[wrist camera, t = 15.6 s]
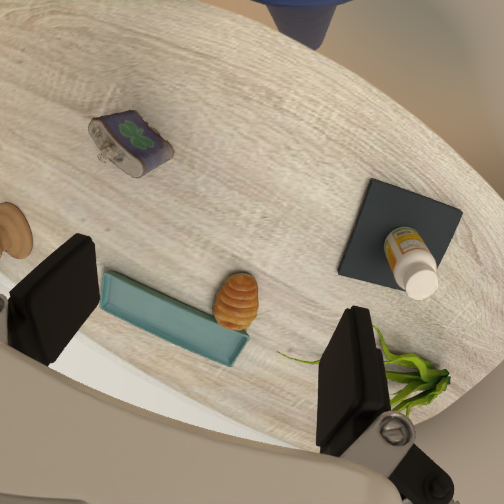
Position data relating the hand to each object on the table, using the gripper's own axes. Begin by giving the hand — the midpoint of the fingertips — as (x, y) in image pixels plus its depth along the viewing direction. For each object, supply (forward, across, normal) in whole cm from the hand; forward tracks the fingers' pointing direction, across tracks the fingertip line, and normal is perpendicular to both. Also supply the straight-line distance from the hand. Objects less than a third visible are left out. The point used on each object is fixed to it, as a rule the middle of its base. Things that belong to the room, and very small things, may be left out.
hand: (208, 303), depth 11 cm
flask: (+31, +17, +2) cm, 35 cm away
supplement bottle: (+30, -19, +8) cm, 36 cm away
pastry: (+31, +1, +24) cm, 39 cm away
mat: (+30, -19, +8) cm, 37 cm away
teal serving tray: (+31, +11, +31) cm, 45 cm away
